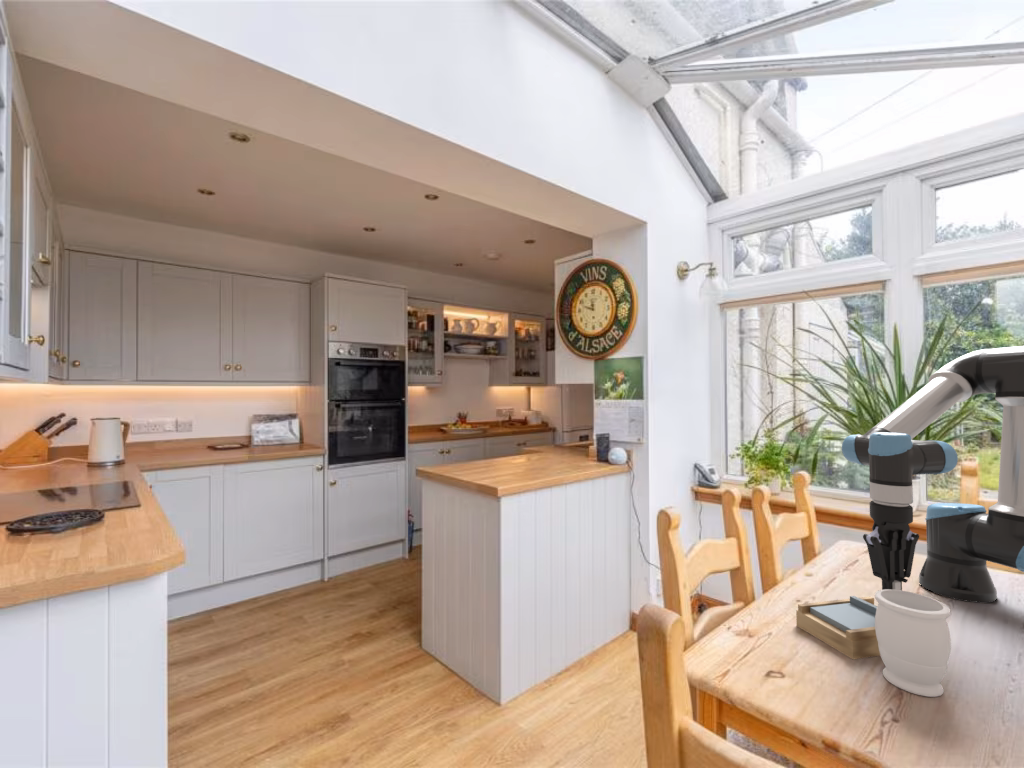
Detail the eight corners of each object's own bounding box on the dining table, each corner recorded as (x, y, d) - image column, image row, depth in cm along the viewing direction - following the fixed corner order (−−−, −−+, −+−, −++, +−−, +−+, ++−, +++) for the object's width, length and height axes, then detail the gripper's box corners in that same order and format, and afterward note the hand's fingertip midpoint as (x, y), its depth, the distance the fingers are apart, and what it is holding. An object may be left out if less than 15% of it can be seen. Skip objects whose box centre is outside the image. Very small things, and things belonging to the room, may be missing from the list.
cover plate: (854, 607, 109) (854, 595, 109) (900, 629, 98) (900, 616, 99) (810, 612, 106) (810, 600, 106) (852, 636, 96) (852, 622, 96)
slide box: (868, 616, 112) (868, 595, 112) (932, 648, 98) (932, 623, 98) (796, 625, 107) (796, 603, 107) (853, 659, 94) (852, 634, 94)
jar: (966, 696, 82) (965, 609, 83) (924, 707, 79) (923, 617, 80) (901, 662, 93) (900, 585, 93) (861, 671, 90) (860, 591, 90)
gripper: (897, 497, 110) (898, 599, 110) (851, 500, 107) (852, 605, 107) (931, 504, 103) (933, 614, 102) (883, 507, 100) (885, 620, 99)
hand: (892, 609), depth 105 cm, fingers closed
